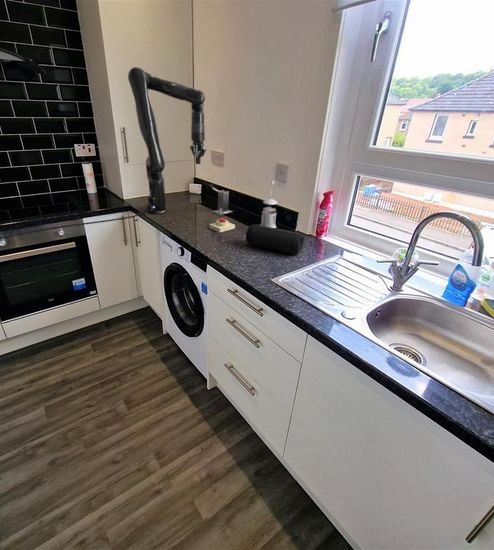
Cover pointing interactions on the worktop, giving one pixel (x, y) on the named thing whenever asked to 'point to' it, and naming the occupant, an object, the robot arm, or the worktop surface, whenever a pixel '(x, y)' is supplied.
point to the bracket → (223, 203)
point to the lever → (214, 189)
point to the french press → (269, 213)
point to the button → (222, 220)
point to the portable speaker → (275, 239)
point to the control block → (221, 226)
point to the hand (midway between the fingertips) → (198, 163)
